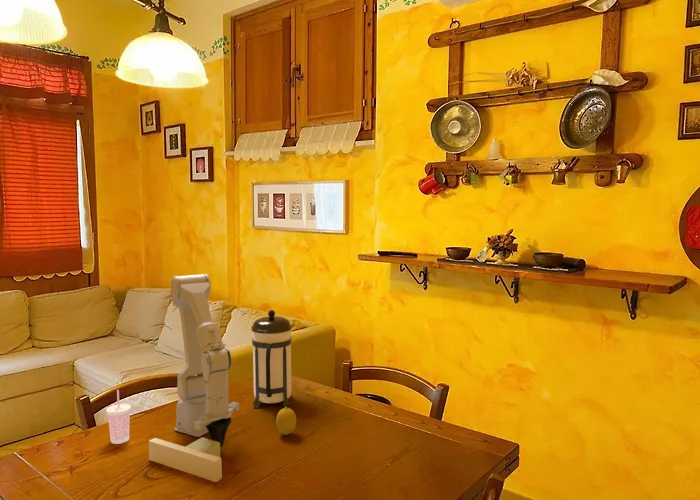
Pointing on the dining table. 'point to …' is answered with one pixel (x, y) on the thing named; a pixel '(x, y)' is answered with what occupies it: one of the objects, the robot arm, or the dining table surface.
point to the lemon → (286, 420)
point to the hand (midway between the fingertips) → (218, 446)
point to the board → (185, 459)
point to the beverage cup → (119, 421)
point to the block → (206, 446)
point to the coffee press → (272, 360)
